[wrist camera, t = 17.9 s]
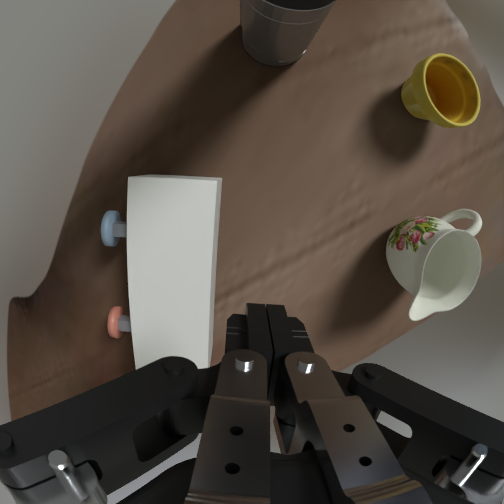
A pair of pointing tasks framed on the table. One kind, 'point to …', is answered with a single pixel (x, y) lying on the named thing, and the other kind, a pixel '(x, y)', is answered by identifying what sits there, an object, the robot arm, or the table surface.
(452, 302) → the pitcher
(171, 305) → the key box
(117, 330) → the red key
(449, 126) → the plant pot
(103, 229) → the blue key
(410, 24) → the table surface
